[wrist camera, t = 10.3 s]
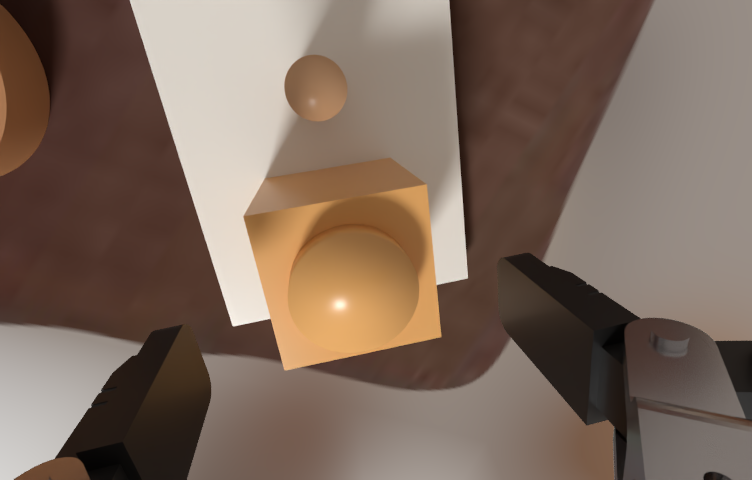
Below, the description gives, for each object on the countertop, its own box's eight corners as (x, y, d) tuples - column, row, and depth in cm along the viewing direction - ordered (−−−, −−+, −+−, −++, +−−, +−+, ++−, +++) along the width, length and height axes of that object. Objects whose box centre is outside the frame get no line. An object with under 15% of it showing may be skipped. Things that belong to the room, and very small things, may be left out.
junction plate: (237, 311, 21) (214, 380, 16) (145, 8, 16) (66, -36, 11) (457, 266, 22) (502, 318, 17) (435, -28, 17) (489, -83, 12)
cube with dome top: (292, 291, 19) (282, 390, 13) (264, 178, 17) (237, 226, 11) (404, 269, 20) (450, 353, 13) (390, 157, 18) (436, 191, 11)
